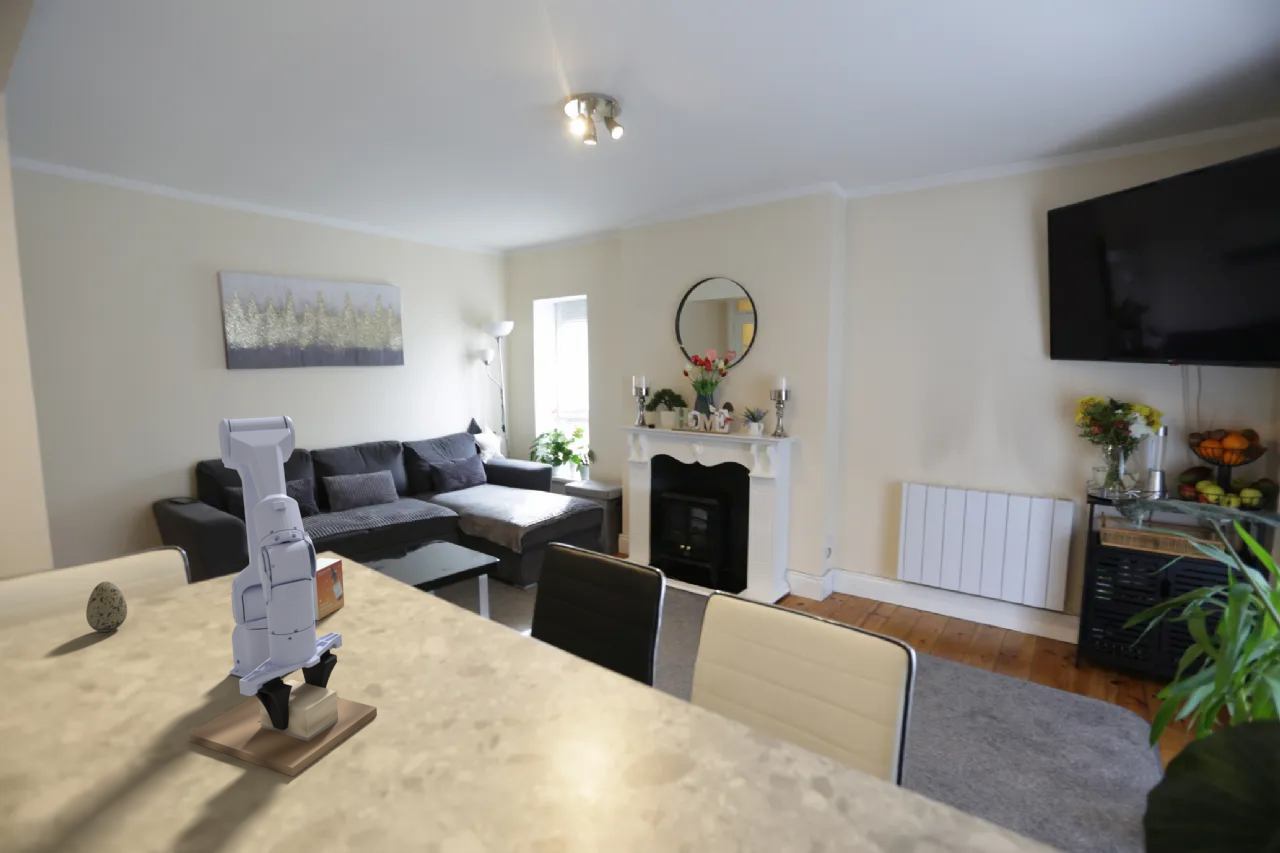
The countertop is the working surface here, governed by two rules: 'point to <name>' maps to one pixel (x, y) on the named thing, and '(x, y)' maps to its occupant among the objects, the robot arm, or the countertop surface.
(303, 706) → the block
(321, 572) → the small box
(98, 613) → the decorative egg
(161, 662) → the countertop surface
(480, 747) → the countertop surface
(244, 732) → the oak board
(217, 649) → the countertop surface
